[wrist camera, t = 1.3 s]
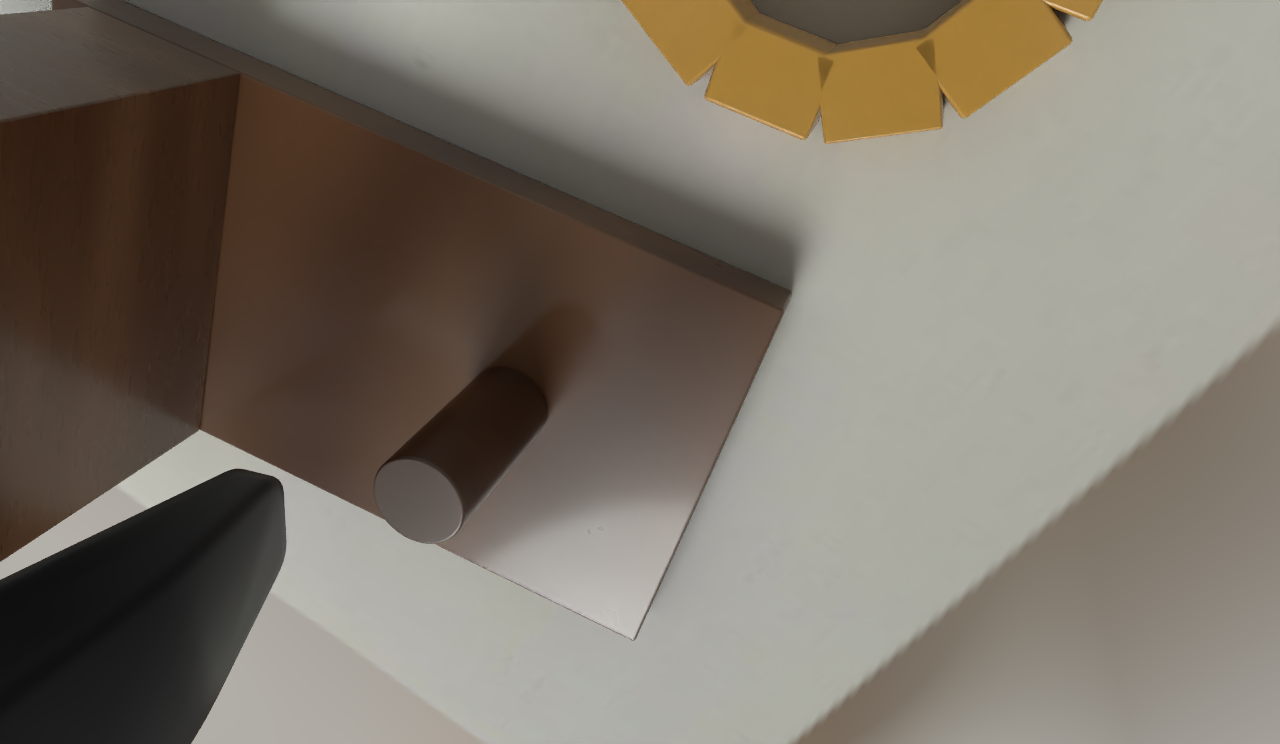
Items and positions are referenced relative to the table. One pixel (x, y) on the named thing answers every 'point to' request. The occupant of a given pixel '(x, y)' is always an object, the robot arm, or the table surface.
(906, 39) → the brass ring
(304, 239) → the stand
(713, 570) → the table surface
